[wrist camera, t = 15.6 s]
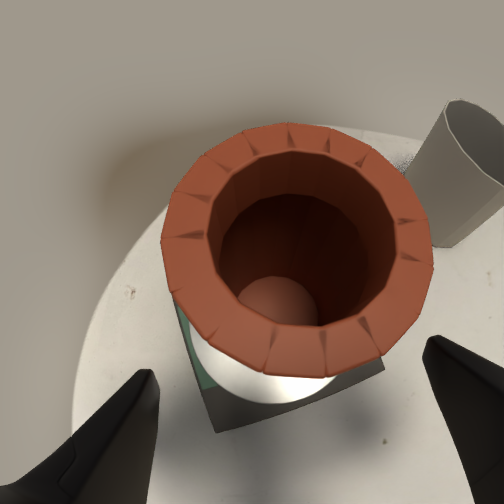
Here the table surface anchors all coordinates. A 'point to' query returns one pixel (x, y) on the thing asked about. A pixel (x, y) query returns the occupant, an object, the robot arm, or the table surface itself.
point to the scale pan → (252, 377)
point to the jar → (297, 251)
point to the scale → (246, 412)
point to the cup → (459, 171)
